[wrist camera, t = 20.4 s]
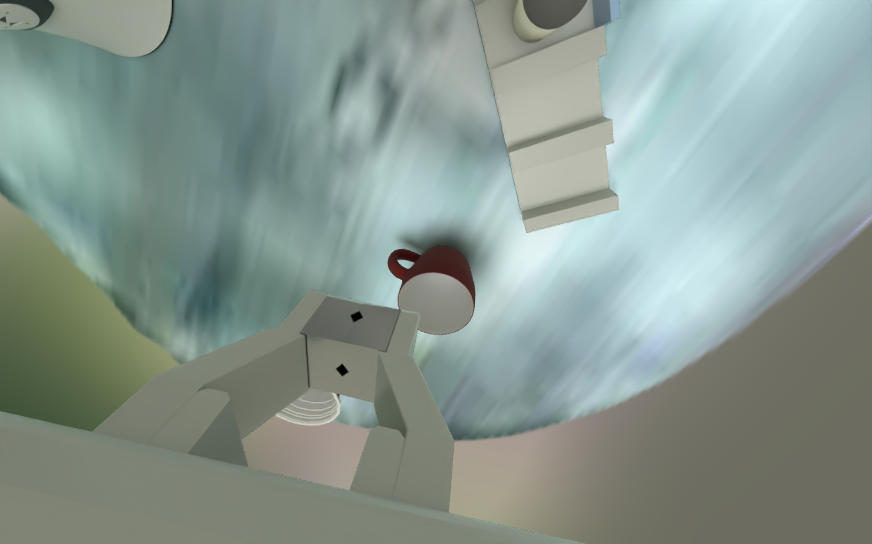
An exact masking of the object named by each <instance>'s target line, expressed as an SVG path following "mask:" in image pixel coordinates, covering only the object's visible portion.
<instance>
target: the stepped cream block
mask: <svg viewBox="0 0 872 544" xmlns="http://www.w3.org/2000/svg"><path fill="white" fill-rule="evenodd" d="M473 2H474V7H475V11H476V15H477V20H478V24H479V29H480V33H481V38H482V42H483V46H484V51H485V55H486V60H487V64H488V68H489V73H490V77H491V82H492V86H493V90H494V95H495V99H496V104H497V108H498V113H499V117H500V121H501V126H502V130H503V135H504V139H505V143H506V148H507V152H508V157H509V161H510V165H511V170H512V174H513V179H514V183H515V187H516V192H517V196H518V201H519V205H520V210H521V214H522V218H523V222H524V226H525V229H526V232H527V233H528V232H532V231H536V230H540V229H544V228H548V227H552V226H556V225H560V224H564V223H568V222H572V221H576V220H580V219H584V218H588V217H592V216H596V215H600V214H604V213H608V212H612V211H616V210H619V203H618V195H617V194H616V193H614V192H613V191H612V190H611V189H610V188H609V181H608V170H607V159H606V148H605V145H609V144H612V143H614V140H613V127H612V119H608V118H604V117H603V114H602V103H601V92H600V81H599V70H598V59H597V58H598V57H601V56H603V55H606V54H607V51H606V38H605V25H607V24H609V23H611V22H613V21H615V20H617V19H619V18H620V8H619V0H587V2H586V4H585V6H584V7H583V9H582V10H581V11H580V12H579V14H578V15H577V16H576V17H574V18H573V19H572V20H571V21H569V22H568V23H567V24H565V25H563V26H561V27H559V28H557V29H556V30H554V31H553V32H552V33H551V34H549V35H548V36H547V37H545V38H544V39H542V40H541V41H539V42H536V43H526V42H524V41H522V40H520V39H519V38H518V36H517V35H516V33H515V31H514V28H513V13H514V9H515V7H516V4H517V2H518V0H473Z"/></svg>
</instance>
